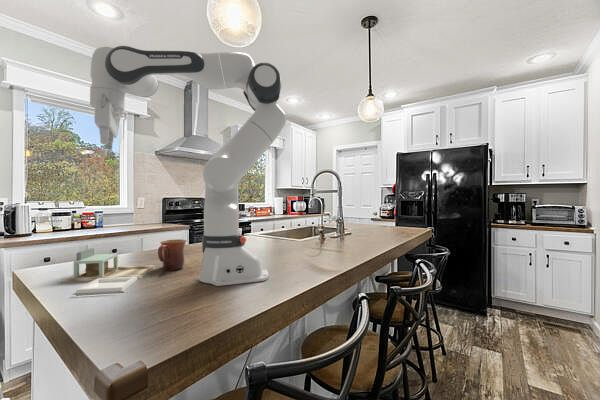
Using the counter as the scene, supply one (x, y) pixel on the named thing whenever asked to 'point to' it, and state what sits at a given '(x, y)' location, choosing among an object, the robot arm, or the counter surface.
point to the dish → (106, 285)
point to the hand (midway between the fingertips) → (106, 146)
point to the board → (114, 273)
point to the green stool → (93, 260)
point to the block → (95, 269)
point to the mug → (172, 254)
